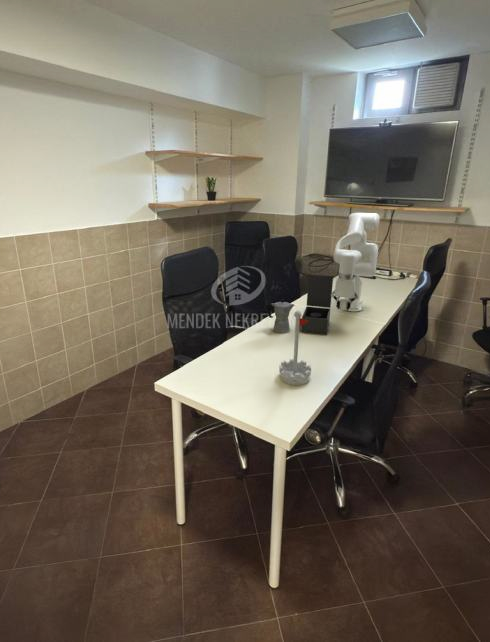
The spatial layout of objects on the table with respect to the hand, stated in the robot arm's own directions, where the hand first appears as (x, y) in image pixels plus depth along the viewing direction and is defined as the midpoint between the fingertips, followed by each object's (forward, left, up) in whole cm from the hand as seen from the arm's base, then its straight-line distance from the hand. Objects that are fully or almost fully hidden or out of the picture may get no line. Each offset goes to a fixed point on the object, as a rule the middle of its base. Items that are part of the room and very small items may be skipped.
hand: (343, 308), depth 193 cm
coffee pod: (0, 0, 0) cm, 0 cm away
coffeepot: (+25, -23, -13) cm, 36 cm away
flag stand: (+58, +15, -13) cm, 61 cm away
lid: (-2, -17, +6) cm, 18 cm away
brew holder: (+10, -10, -13) cm, 19 cm away
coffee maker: (+7, -12, -13) cm, 19 cm away
